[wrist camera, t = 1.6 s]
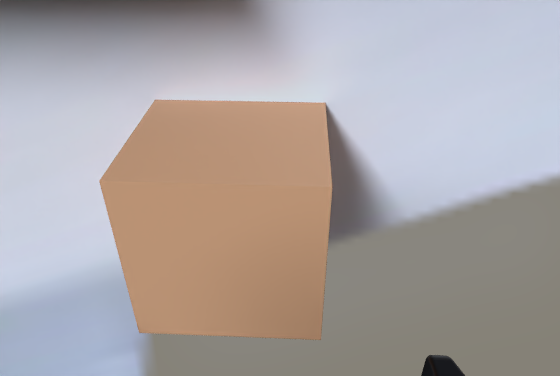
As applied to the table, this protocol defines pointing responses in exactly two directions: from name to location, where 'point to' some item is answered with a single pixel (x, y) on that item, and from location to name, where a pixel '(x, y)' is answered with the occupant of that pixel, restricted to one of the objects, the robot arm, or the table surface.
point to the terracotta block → (224, 217)
